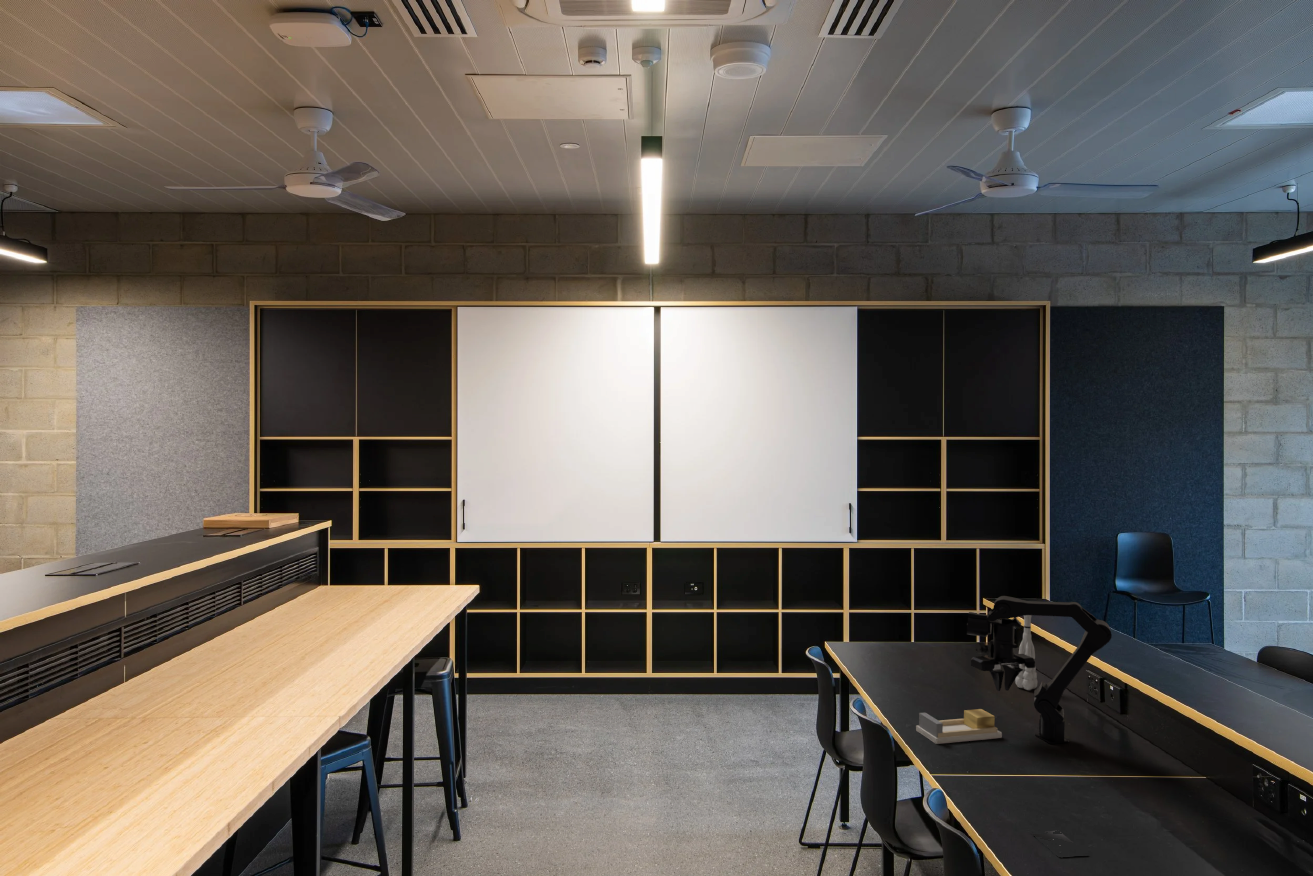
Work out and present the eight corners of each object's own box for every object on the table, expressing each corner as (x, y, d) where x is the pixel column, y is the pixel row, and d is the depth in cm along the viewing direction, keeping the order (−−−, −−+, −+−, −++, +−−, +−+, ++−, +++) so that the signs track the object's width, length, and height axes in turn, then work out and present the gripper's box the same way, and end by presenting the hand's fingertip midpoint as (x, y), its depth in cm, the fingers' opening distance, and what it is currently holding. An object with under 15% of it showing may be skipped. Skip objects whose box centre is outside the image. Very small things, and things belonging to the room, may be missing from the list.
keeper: (981, 722, 231) (981, 709, 231) (994, 729, 225) (994, 716, 225) (963, 723, 229) (964, 710, 229) (976, 731, 223) (977, 717, 223)
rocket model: (1012, 684, 272) (1014, 601, 272) (1034, 686, 271) (1036, 602, 270) (1017, 691, 265) (1019, 605, 265) (1040, 693, 263) (1042, 606, 263)
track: (979, 725, 233) (979, 707, 233) (1001, 737, 223) (1002, 719, 223) (916, 730, 227) (916, 712, 227) (936, 744, 218) (936, 725, 218)
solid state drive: (1058, 860, 160) (1058, 857, 160) (1029, 835, 169) (1029, 831, 169) (1089, 858, 160) (1089, 855, 160) (1058, 833, 170) (1058, 830, 170)
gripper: (1011, 630, 239) (1010, 680, 239) (959, 633, 234) (958, 683, 234) (1037, 640, 228) (1036, 692, 228) (983, 643, 224) (982, 696, 224)
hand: (1002, 690), depth 229 cm, fingers open, 3 cm apart
